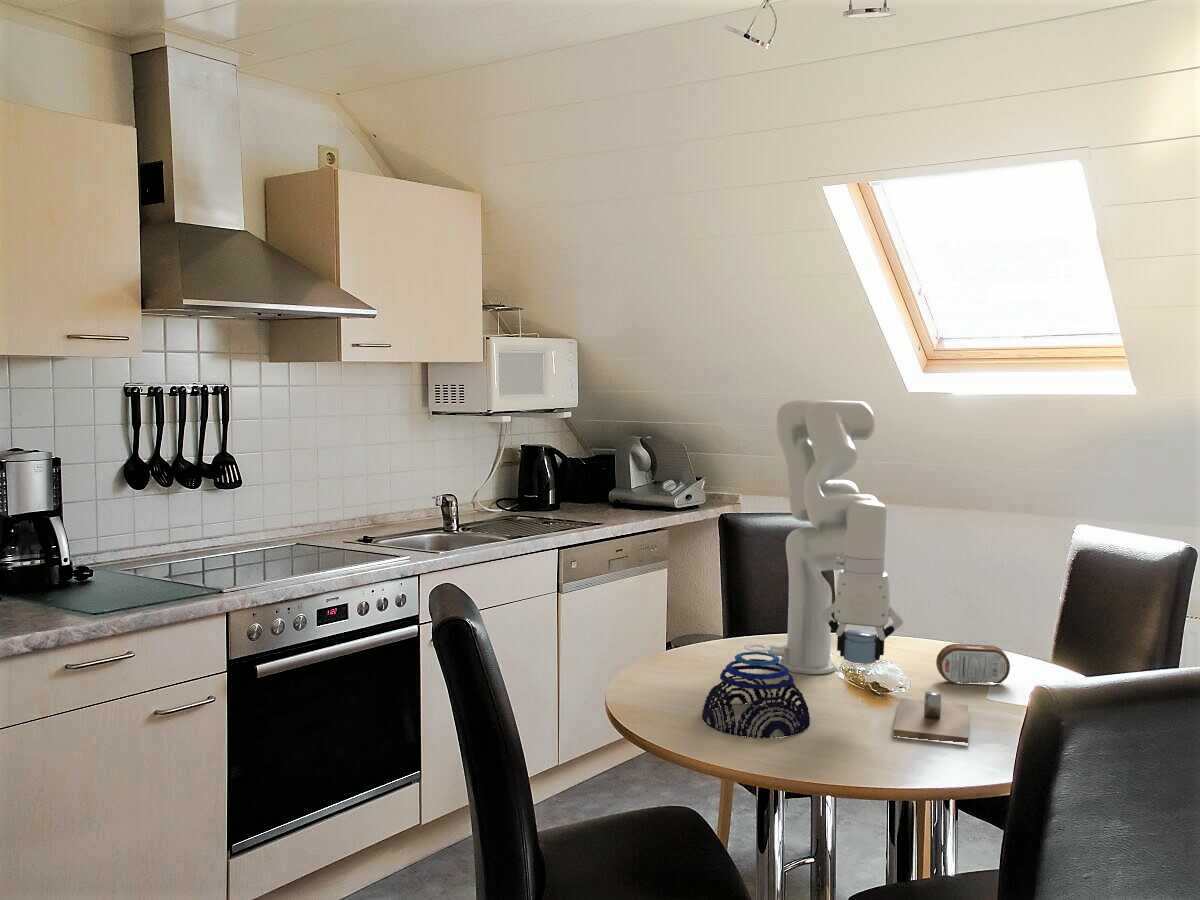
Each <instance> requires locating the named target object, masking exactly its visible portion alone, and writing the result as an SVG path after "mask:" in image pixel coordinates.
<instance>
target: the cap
mask: <svg viewBox="0 0 1200 900" xmlns="http://www.w3.org/2000/svg"><path fill="white" fill-rule="evenodd" d="M877 637H878V634H877V632H874V631H871V630H867V629H849V630H845V642H844V656H843V660H845V661H847V662H849V663H853V664H860V665H861V664H862V665H868V664H875V663H877V660H876V659H875V654H876V639H877Z"/></svg>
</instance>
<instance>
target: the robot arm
mask: <svg viewBox="0 0 1200 900" xmlns="http://www.w3.org/2000/svg"><path fill="white" fill-rule="evenodd" d="M875 425H876V424H875V416H874V413H873V410H872V409H871V407H870V406H869V405H868V404H867V403H866V402H865V401H861V400H859V401H856V400H821V399H816V400H815V399H809V400H808V399H806V400H805V399H803V400H791V401H788V402H785V403H783V404H782V405H781V406H780V407H779V408H778V411H777V414H776V432H777V438H778V441H779V444H780V446H781V450H782V452H783V455H784V458H785V462H786V473H787V486H788V500H789V501H788V502H789V508H790V513H791V515H792V517H793V518H794V519H795V520H796V521H800V522H805V523H806V522H807V523H808V522H809V523H810V524H811V526H807V527H800V528H796V529H794V530H792V531H791V532H790V533H789V534H788V535H787V537H786V540H785V553H786V561H787V570H788V608H787V610H788V611H787V613H788V615H787V641H786V642H787V643H786V645H785V644H782V646H778V645H773V644H767V645H768V646H769V647H771V651H767V653H769V654H772V655H775V656H778V657H781V658H779V659H780V661H779V663H780V665H781V664H782V665H784V666H785V667H787V669H788V670H789V672H792V673H796V674H803V675H824V674H829V673H830V674H831V673H833V672H835V671H836V670H837V669H836V668H835V667H834V666H833V665H832V663H831V660H830V659H831V637H832V636H831V633H832V632H831V631H833V632H834V633H835V634H836V636H837V638H836V639H837V641H836V642H837V643H836V650H837V651H838V652H839V656H840V657H843V658H844V642H845V632H846V630H845V629H846V627H847V625H852V626H853V625H854V626H862V627H873V628H875V631H876V634H877V639H876V654H875V659H876V661H880V659H881V656H884V655H885V640H886V639H887V638H888V637H889V636H890V635H891V634H892V633H894V632H895V631H896V630H897V629H899V628H900V627H901V626H903V623H904V620H903V619H902V618H901V616H900V614H898V613H897V612H896V611H895V610H894V608H892V606H891V605H890V604H891V603H890V602H891V601H890V600H891V599H890V585H889V582H890V581H889V576H888V575H889V574H888V573H887V572H886V571H885V559H886V556H885V552H886V538H887V537H886V534H887V513H888V512H887V508H886V505H885V504H884V503H882V502H880V501H879V500H878V499H877V497H875V496H874V495H872V494H867V493H866V494H865V493H864V494H863V493H862V494H861V492H860V490H859V488H858V486H857V485H856V483H854V482H853V481H851V480H848V479H847V480H846V479H836V478H838V477H841V476H842V475H845V474H846V473H848V472H850V471H851V470H852V469H853V468H854V467H855V465H856V464H857V461H858V452H857V449H856V445H855V443H854V441H867V440H869V439H870V438H871V437H872V436H873V433H874V430H875ZM824 571H839V572H838V577H837V582H836V587H835V595H834V596H835V598H834V601H833V600H832V599H833V593H832V592H833V591H832V587H831V585H830V583H829V582H828V581H827V580H826V578H825V577H824V576H823V574H822V572H824ZM832 614H834V617H833V616H832ZM889 619H891V620H892V621H893V622H892V623H891V624H889V625H888V622H889ZM887 625H888V626H887ZM885 626H887V627H885ZM834 663H836V664H837V665H838V663H837V662H836V661H835V660H834Z"/></svg>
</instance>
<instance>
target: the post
mask: <svg viewBox="0 0 1200 900" xmlns="http://www.w3.org/2000/svg"><path fill="white" fill-rule="evenodd" d="M924 700H925V703H924V717H925V718H928V719H940V717H941V702H942V693H941V692H938V691H935V690H934V691H933V690H931V691H925V692H924Z"/></svg>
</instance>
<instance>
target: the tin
mask: <svg viewBox="0 0 1200 900" xmlns="http://www.w3.org/2000/svg"><path fill="white" fill-rule="evenodd" d="M935 661H936V662H935V664H936V668H937V671H938V673H939V674H940V675H941V677H942V678H943V679H944V680H946V681H947V682H949V683H950V682H952V683H951V684H954V683H957V682H960V683H961V682H962V683H970V682H971V683H979V682H980V683H982V682H983V683H987V682H993V683H1000V684H1002V683H1003V682H1005V681H1006V679H1007V678H1008V676H1009V674H1010V672H1011V671H1010V670H1011V665H1010V661H1009V658H1008V657H1007V655H1006V653H1005V651H1003V650H1002V649H1001V648H999V647H997V646H996V645H995V646H994V645H987V644H985V645H983V644H965V643H952V644H948V645H946V646H945V647H943V648H942V649H941V650H940V651H939V653H937V656H936V660H935Z"/></svg>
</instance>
